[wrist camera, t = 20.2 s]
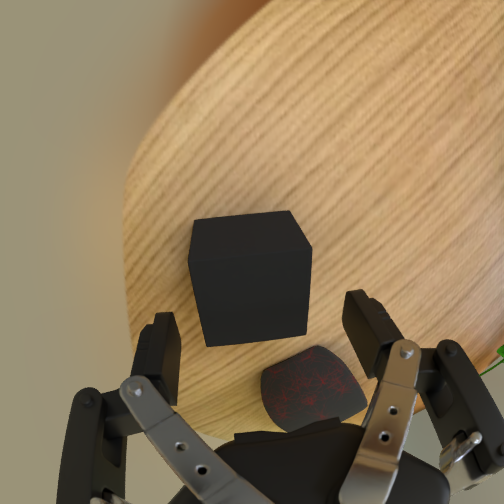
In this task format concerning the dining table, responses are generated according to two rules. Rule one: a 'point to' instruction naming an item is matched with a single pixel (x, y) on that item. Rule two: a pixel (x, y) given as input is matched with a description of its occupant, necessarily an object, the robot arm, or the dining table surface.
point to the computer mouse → (310, 390)
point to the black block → (250, 277)
